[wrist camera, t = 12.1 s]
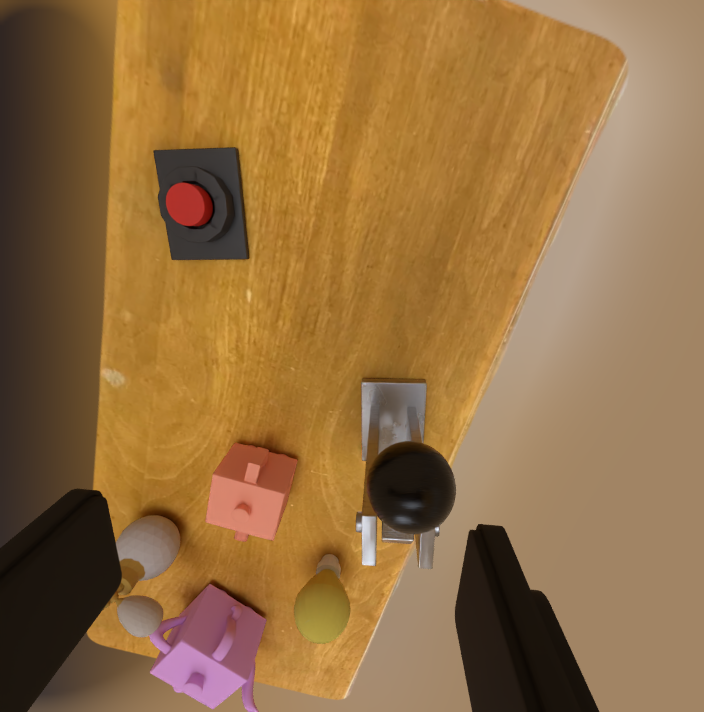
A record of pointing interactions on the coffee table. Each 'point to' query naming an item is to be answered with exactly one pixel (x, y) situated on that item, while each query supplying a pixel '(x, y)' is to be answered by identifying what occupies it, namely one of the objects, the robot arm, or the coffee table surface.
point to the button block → (224, 187)
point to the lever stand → (381, 429)
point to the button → (189, 204)
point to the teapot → (210, 649)
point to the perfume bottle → (143, 570)
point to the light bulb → (323, 604)
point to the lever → (410, 490)
